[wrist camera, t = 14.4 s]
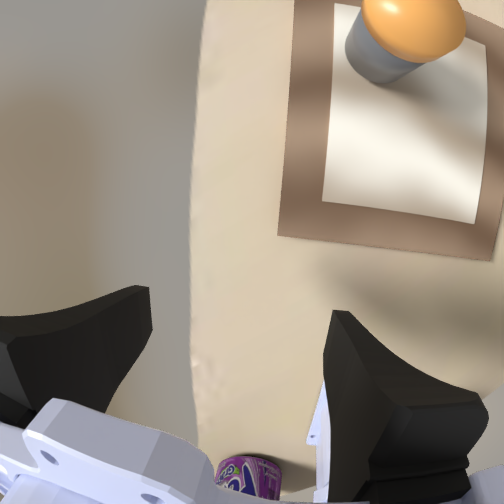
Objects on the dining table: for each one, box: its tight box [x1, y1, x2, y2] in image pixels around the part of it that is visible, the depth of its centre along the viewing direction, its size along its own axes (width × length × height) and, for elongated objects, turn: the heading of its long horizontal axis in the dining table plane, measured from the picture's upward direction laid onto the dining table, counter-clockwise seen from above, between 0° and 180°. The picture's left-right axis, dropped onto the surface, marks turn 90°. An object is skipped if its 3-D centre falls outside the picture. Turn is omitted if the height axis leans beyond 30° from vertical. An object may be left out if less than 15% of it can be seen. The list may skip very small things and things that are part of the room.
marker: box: [345, 0, 466, 83], centre depth 12 cm, size 4×4×8 cm
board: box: [277, 0, 504, 261], centre depth 17 cm, size 18×16×1 cm
